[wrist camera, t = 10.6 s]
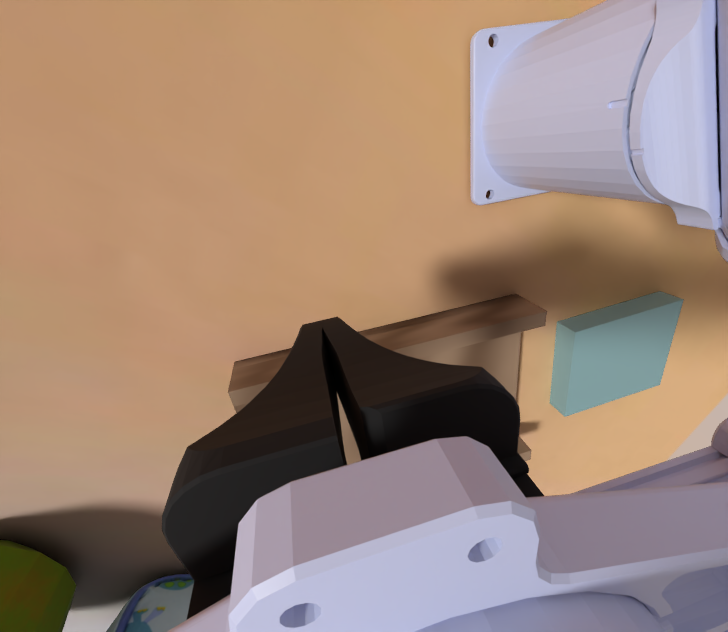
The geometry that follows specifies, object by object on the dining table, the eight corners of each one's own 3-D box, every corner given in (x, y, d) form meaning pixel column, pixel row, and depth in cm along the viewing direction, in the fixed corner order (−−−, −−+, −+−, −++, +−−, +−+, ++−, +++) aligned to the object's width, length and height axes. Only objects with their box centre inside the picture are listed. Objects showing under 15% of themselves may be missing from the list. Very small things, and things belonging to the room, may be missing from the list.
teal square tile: (653, 289, 27) (683, 299, 25) (635, 370, 30) (659, 384, 28) (552, 319, 25) (575, 332, 24) (545, 399, 29) (564, 416, 27)
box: (516, 293, 23) (546, 311, 20) (507, 431, 29) (530, 459, 26) (234, 362, 20) (227, 392, 18) (287, 498, 26) (288, 536, 24)
